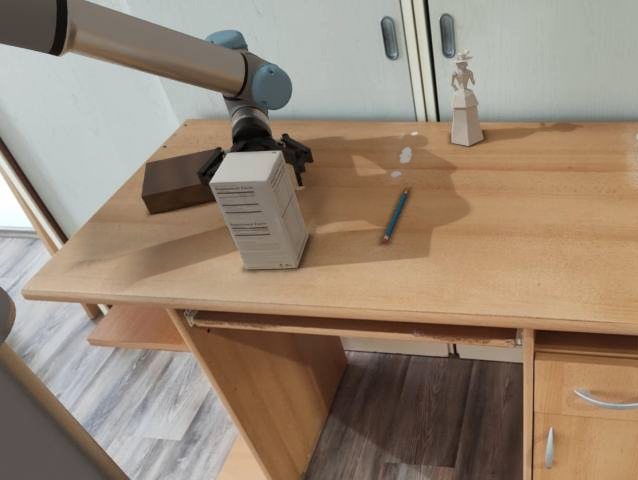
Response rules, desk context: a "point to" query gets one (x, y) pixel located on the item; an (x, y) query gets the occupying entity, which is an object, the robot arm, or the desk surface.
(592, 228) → the desk surface
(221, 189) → the supplement box
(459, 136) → the figurine
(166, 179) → the block
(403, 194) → the pencil
